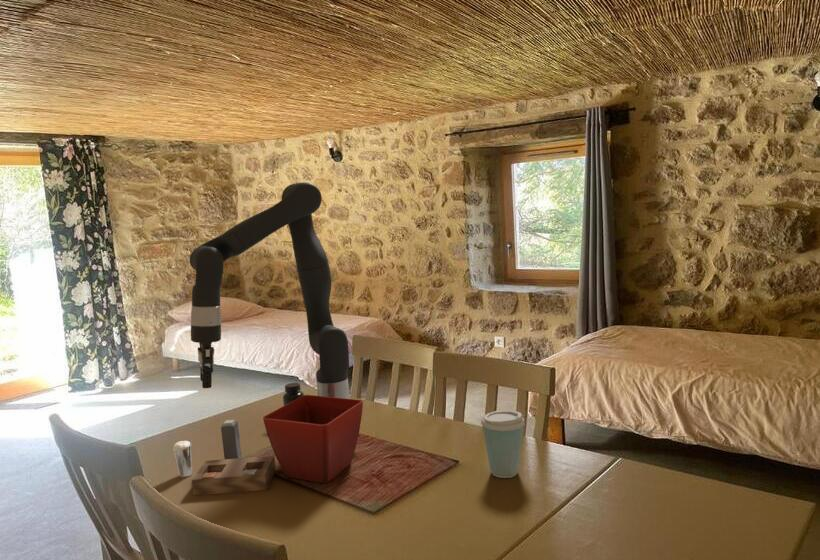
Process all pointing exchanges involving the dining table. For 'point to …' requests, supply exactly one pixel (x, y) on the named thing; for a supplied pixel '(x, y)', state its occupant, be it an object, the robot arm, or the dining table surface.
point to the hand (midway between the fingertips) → (205, 384)
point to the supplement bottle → (292, 393)
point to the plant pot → (315, 436)
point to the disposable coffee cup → (503, 441)
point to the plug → (231, 440)
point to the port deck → (234, 475)
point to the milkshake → (183, 458)
